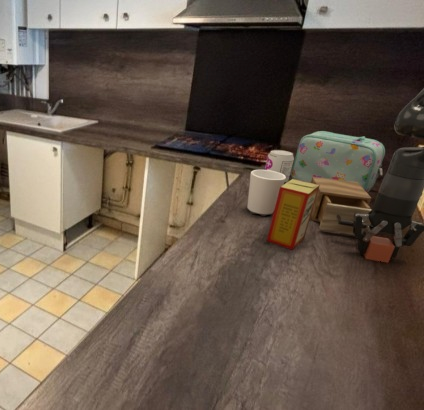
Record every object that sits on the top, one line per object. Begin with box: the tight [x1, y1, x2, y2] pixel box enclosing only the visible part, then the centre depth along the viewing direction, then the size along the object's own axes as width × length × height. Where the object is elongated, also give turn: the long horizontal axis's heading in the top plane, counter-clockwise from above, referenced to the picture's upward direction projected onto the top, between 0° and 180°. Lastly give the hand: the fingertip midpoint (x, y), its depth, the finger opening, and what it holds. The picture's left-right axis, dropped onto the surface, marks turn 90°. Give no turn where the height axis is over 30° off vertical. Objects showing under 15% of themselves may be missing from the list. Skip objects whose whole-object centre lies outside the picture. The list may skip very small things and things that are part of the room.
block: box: [363, 235, 395, 264], centre depth 90 cm, size 5×5×5 cm
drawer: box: [317, 194, 372, 236], centre depth 102 cm, size 18×11×8 cm, turn 158°
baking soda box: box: [266, 178, 320, 250], centre depth 95 cm, size 10×6×16 cm
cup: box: [247, 169, 286, 217], centre depth 112 cm, size 10×10×13 cm
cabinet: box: [310, 177, 372, 223], centre depth 112 cm, size 15×13×10 cm
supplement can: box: [264, 149, 295, 184], centre depth 128 cm, size 8×8×15 cm
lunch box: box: [291, 130, 386, 194], centre depth 130 cm, size 27×10×21 cm, turn 34°
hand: (374, 255), depth 90 cm, fingers open, 5 cm apart
